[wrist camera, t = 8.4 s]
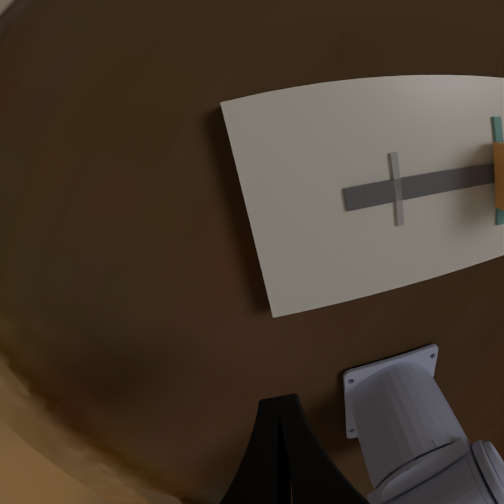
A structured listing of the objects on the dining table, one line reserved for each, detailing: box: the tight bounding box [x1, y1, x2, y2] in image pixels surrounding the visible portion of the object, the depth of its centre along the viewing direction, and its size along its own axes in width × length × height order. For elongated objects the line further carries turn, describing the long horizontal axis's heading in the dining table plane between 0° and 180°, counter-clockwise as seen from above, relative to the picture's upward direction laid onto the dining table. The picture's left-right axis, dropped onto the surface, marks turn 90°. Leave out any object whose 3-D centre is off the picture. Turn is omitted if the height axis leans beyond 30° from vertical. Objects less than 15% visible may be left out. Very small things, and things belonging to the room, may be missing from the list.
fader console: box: [220, 75, 504, 318], centre depth 16 cm, size 12×28×2 cm, turn 103°
